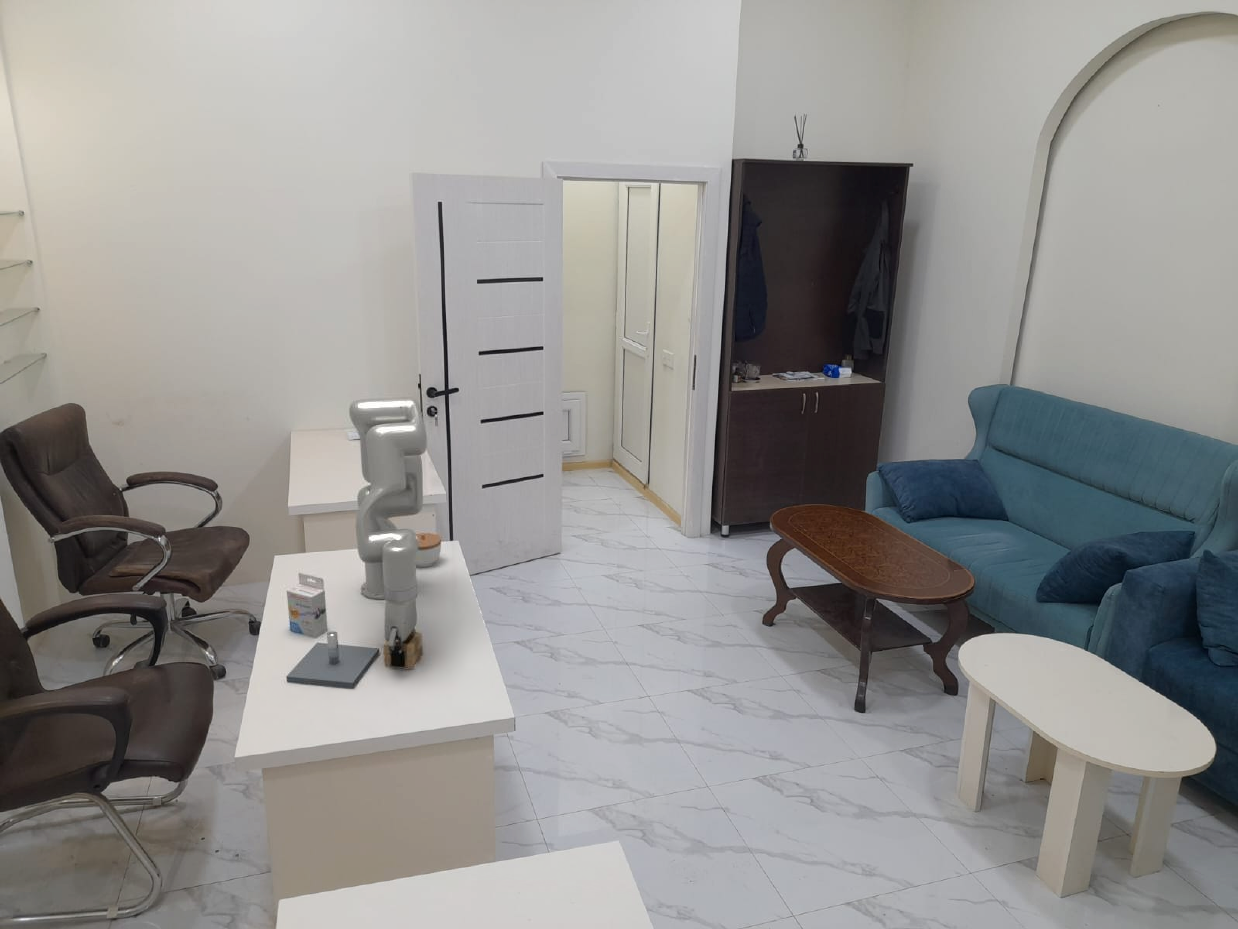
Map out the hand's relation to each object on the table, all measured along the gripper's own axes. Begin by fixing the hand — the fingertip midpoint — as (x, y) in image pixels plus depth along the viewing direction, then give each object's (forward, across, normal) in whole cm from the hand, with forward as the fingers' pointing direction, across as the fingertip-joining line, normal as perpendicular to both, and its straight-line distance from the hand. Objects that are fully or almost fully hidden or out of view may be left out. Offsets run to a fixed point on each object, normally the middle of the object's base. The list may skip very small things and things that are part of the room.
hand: (403, 657), depth 216 cm
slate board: (+1, +6, -15) cm, 16 cm away
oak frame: (+1, 0, 0) cm, 1 cm away
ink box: (+1, -10, -29) cm, 31 cm away
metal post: (-1, +6, -15) cm, 16 cm away
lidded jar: (+1, -56, -14) cm, 58 cm away
